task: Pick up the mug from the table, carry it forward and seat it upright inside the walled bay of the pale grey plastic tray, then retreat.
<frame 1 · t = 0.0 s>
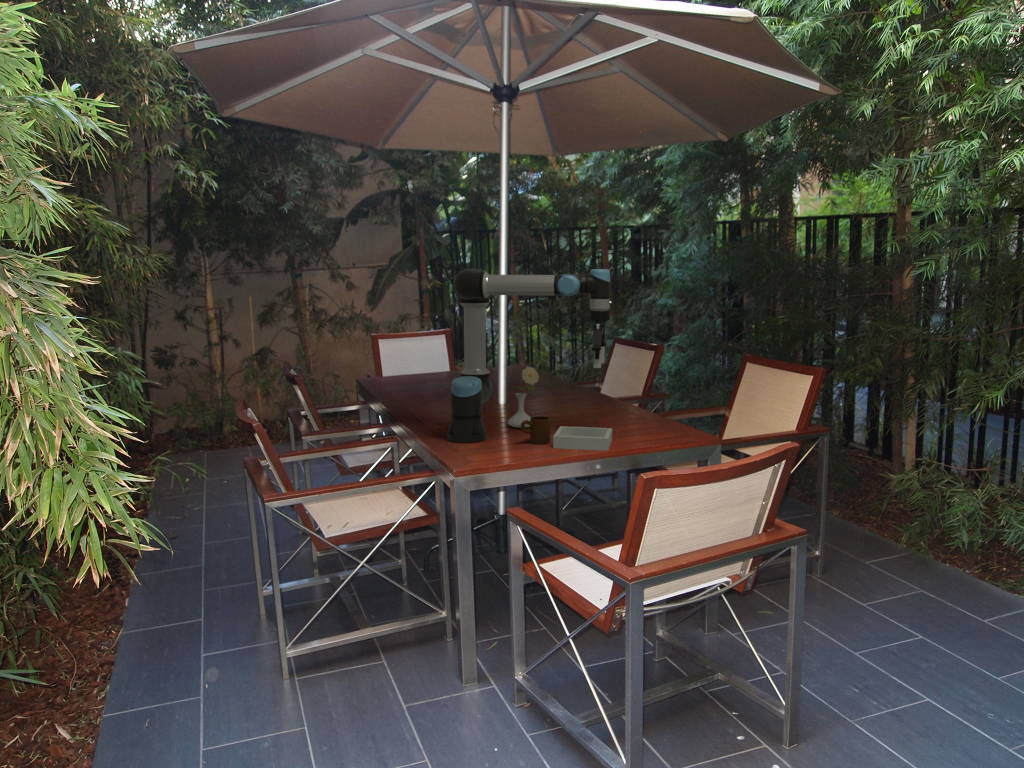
hand: (599, 365, 308), 28 cm above the table, tool pointing down, fingers open, 13 cm apart
flower in vase: (523, 427, 332), on the table
mug: (534, 443, 302), on the table
tray: (583, 443, 301), on the table
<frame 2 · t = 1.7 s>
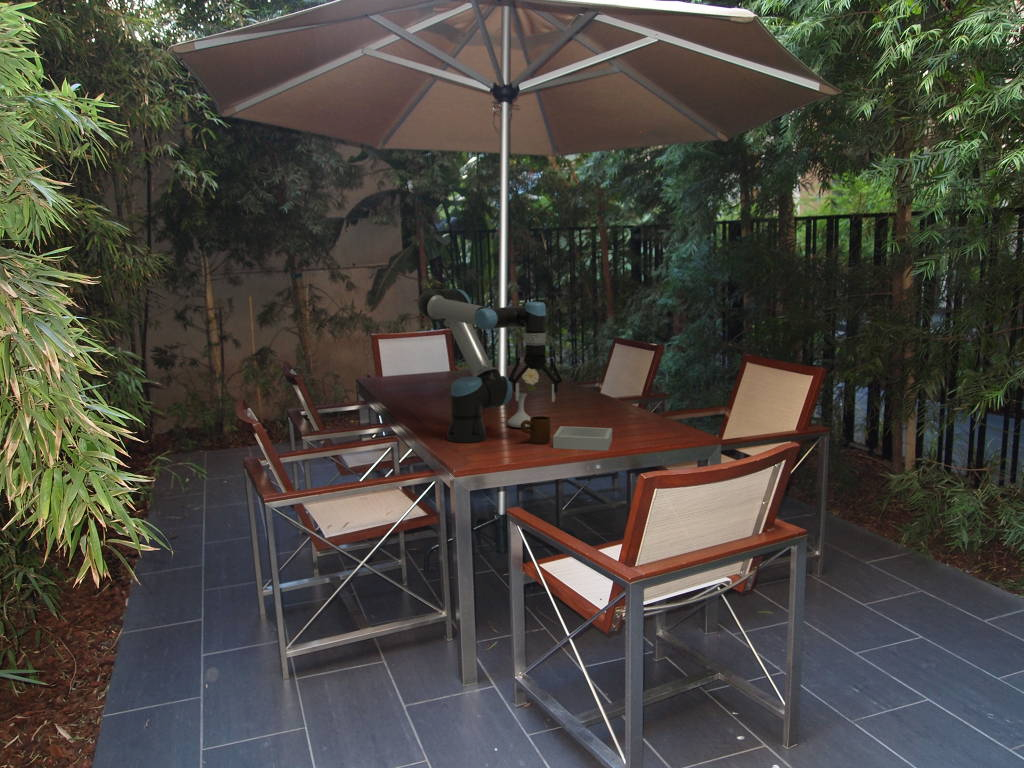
hand: (535, 400, 300), 16 cm above the table, tool pointing down, fingers open, 13 cm apart
nothing on the table moved.
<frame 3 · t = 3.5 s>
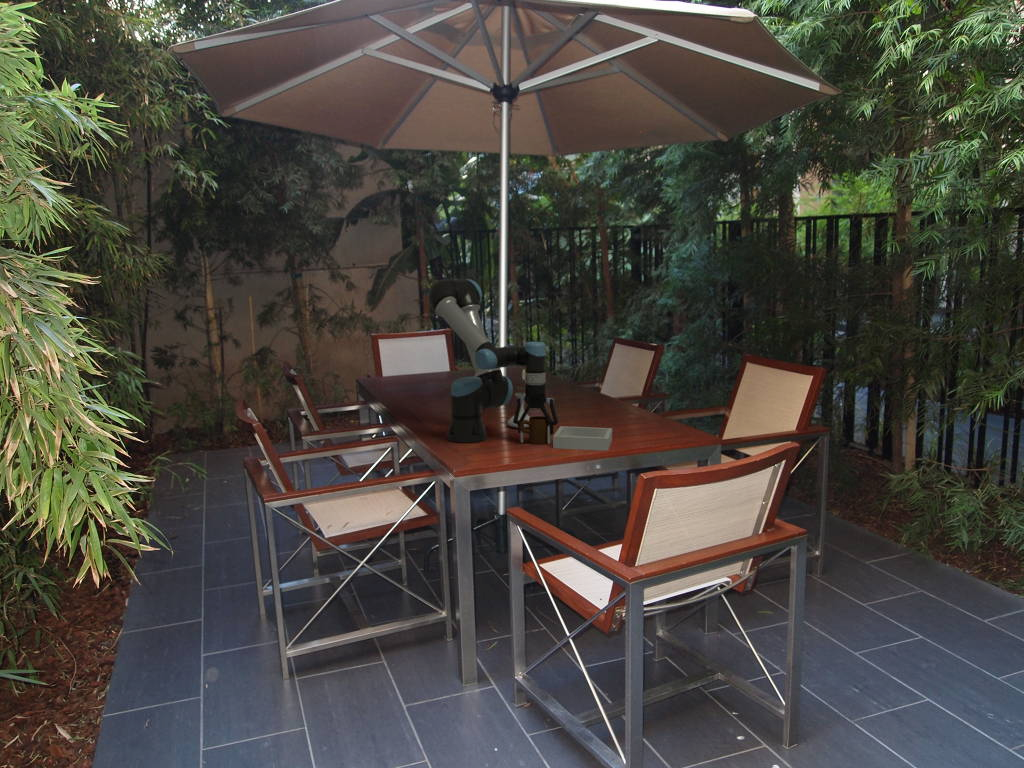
hand: (535, 442, 302), 0 cm above the table, tool pointing down, fingers closed on mug, 9 cm apart
mug: (533, 443, 303), on the table, touching gripper
everything else where it was.
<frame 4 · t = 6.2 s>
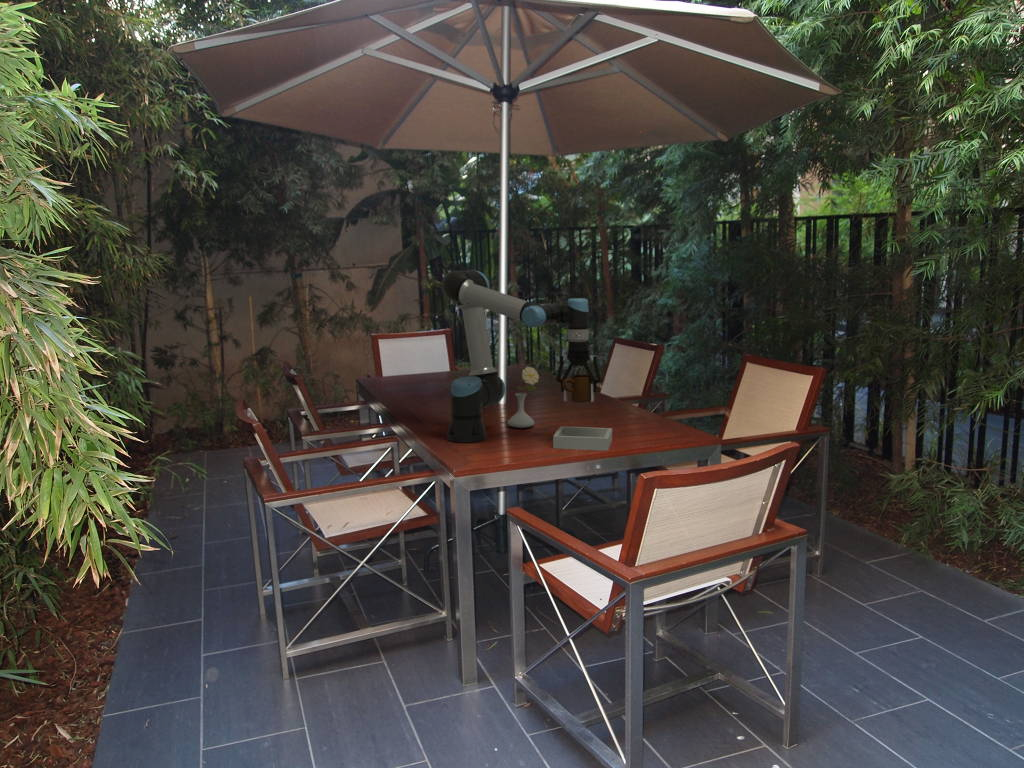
hand: (579, 400, 298), 16 cm above the table, tool pointing down, fingers closed on mug, 9 cm apart
mug: (576, 402, 298), point 16 cm above the table, touching gripper
everything else where it was.
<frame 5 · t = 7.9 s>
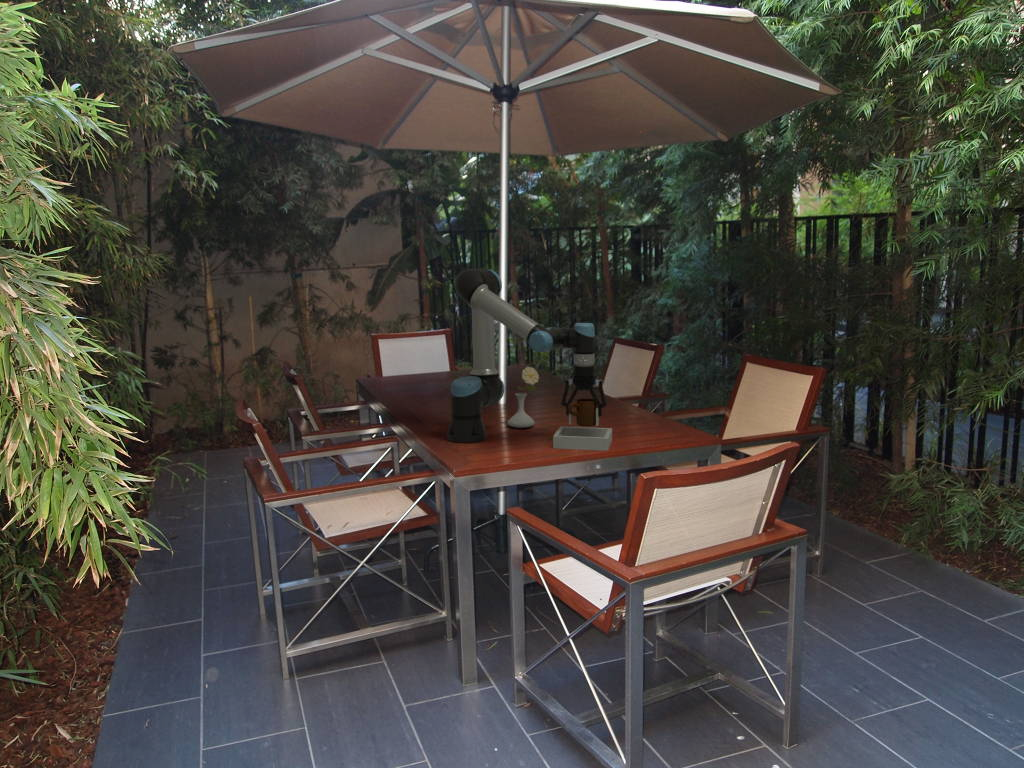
hand: (583, 424, 300), 7 cm above the table, tool pointing down, fingers closed on mug, 9 cm apart
mug: (581, 425, 300), point 7 cm above the table, touching gripper
everything else where it was.
when the fingers open (3 cm above the table, at t = 9.2 s): mug drops 2 cm, resting on tray.
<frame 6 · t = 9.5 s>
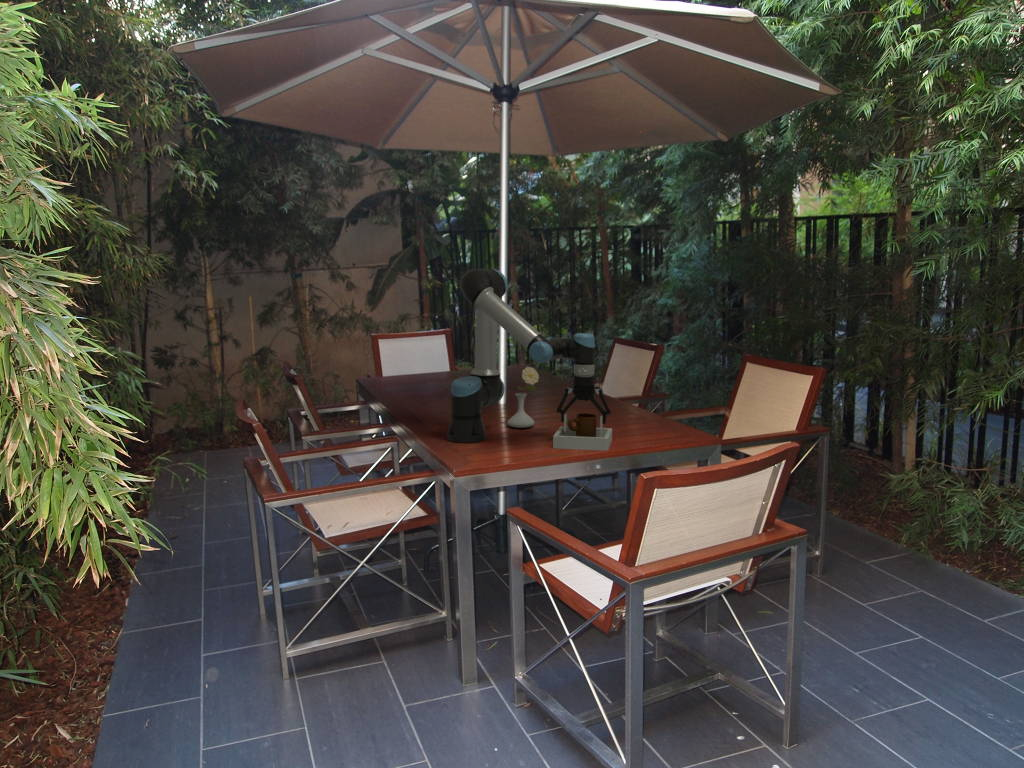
hand: (583, 431, 300), 5 cm above the table, tool pointing down, fingers open, 13 cm apart
mug: (580, 441, 301), point 1 cm above the table, touching tray
everything else where it was.
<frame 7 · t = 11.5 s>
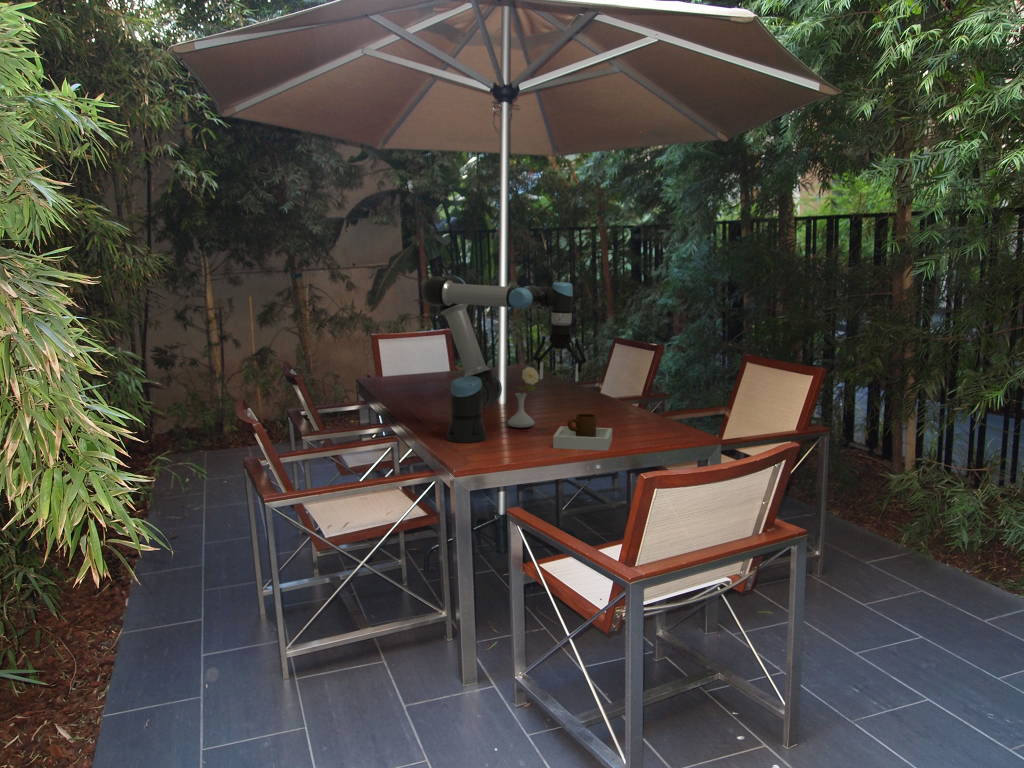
hand: (558, 380, 304), 23 cm above the table, tool pointing down, fingers open, 13 cm apart
nothing on the table moved.
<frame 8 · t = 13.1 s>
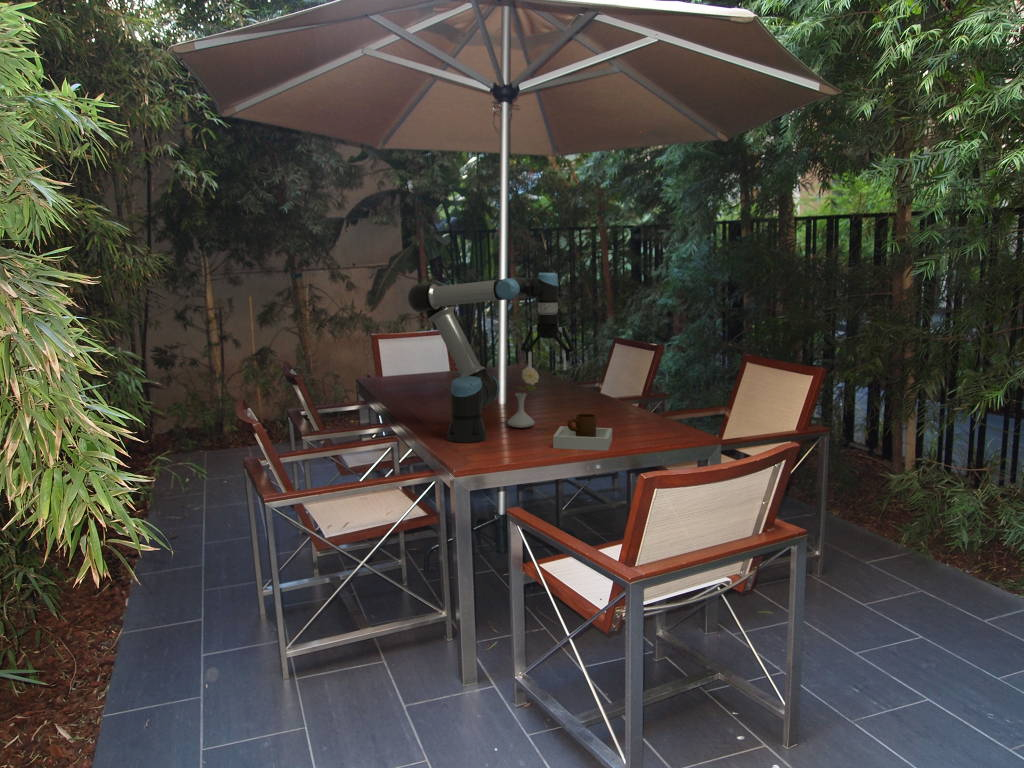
hand: (547, 369, 307), 27 cm above the table, tool pointing down, fingers open, 13 cm apart
nothing on the table moved.
at the end: mug inside the target area on the tray (0.9 cm from its centre), point 1.0 cm above the tray's base; mug tilted 0°; the gripper is holding nothing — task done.
